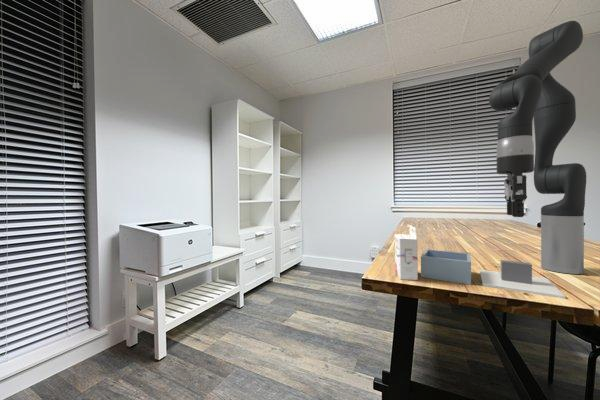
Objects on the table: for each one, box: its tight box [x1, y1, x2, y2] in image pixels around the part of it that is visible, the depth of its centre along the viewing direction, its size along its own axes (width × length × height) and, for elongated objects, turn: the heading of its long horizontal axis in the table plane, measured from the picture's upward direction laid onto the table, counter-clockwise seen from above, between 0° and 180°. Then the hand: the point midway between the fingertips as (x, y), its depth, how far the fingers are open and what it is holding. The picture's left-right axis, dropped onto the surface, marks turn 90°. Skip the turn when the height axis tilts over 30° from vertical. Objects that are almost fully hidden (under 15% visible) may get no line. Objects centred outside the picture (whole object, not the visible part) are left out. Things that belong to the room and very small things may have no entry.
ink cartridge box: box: [394, 224, 419, 281], centre depth 73 cm, size 9×5×15 cm, turn 168°
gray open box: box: [420, 248, 472, 286], centre depth 73 cm, size 12×12×6 cm
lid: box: [479, 259, 566, 300], centre depth 66 cm, size 15×15×6 cm
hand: (514, 215), depth 66 cm, fingers open, 8 cm apart
